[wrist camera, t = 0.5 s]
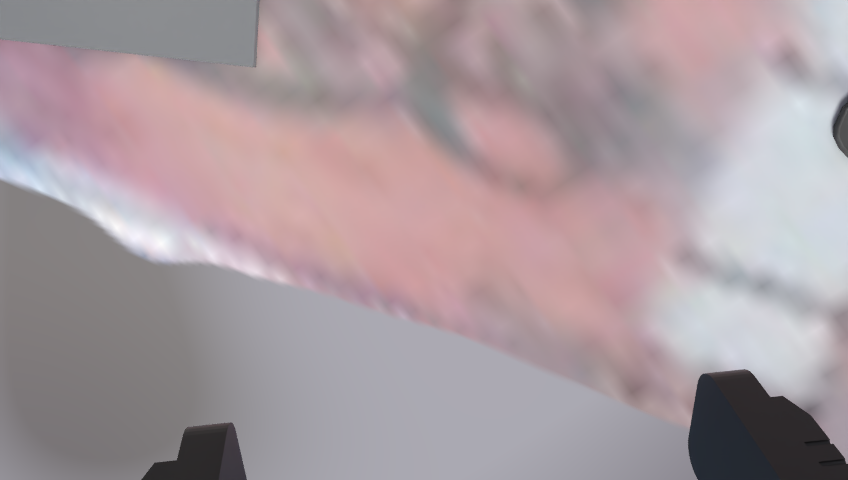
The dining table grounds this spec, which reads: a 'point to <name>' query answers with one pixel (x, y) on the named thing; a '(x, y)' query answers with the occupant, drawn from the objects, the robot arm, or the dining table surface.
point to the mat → (140, 27)
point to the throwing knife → (842, 130)
